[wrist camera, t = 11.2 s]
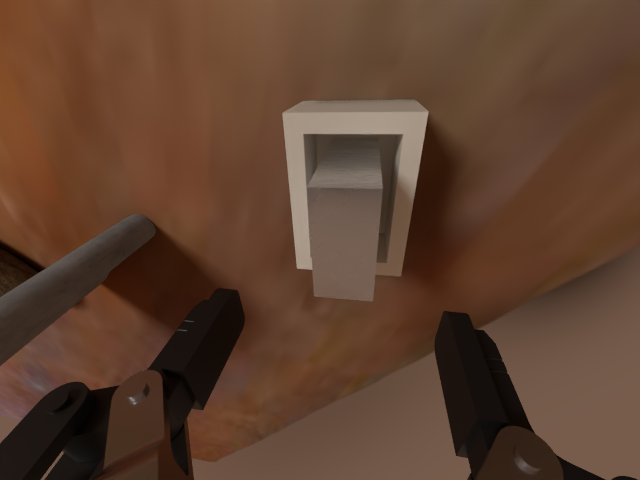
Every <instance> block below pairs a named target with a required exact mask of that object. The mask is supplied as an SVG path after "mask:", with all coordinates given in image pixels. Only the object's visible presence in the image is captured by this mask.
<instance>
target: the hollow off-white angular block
mask: <svg viewBox="0 0 640 480" xmlns="http://www.w3.org/2000/svg"><path fill="white" fill-rule="evenodd" d="M427 118H428V111H427V110H426V109H425V108H424V107H423V106H422V105H421V104H419V103H418V102H417V101H416V100H415V99H411V100H339V101H302V102H301V103H299V104H297V105H295V106H294V107H292V108H290V109H288V110H287V111H285V112H283V124H284V134H285V145H286V156H287V166H288V177H289V188H290V198H291V209H292V220H293V230H294V241H295V251H296V262H297V268H298V269H311V270H312V256H311V242H310V227H309V212H308V198H307V186H308V184H309V182H310V180H311V178H312V176H313V175H314V173H315V171H316V169H317V167H318V165H319V163H320V161H321V159H322V157H323V155H324V153H325V152H326V150H327V148H328V146H329V144H330V142H331V140H332V138H379V148H380V161H381V173H382V185H383V193H382V204H381V215H380V226H379V238H378V249H377V260H376V271H375V275H387V276H400V277H401V273H402V267H403V261H404V255H405V249H406V243H407V237H408V231H409V225H410V219H411V213H412V207H413V202H414V196H415V190H416V184H417V178H418V172H419V166H420V160H421V154H422V148H423V142H424V136H425V130H426V124H427Z"/></svg>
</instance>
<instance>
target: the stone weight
mask: <svg viewBox="0 0 640 480" xmlns="http://www.w3.org/2000/svg"><path fill="white" fill-rule="evenodd" d="M36 274H38V272H37V271H36V270H34V269H33V268H32V267H30V266H29V265H27V264H26V263H24V262H23V261H21V260H20V259H18V258H17V257H15V256H13V255H12V254H10V253H9V252H7V251H5V250H3V249H1V248H0V297H2V296H3V295H5V294H6V293H8V292H9V291H11V290H13V289H14V288H16V287H17V286H19V285H20V284H22V283H24V282H25V281H27V280H28V279H30V278H32V277H33V276H35V275H36Z"/></svg>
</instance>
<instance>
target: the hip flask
mask: <svg viewBox="0 0 640 480" xmlns="http://www.w3.org/2000/svg"><path fill="white" fill-rule="evenodd" d="M155 234H156V229H155V226H154V224H153V223H152V222H151V221H150V220H149V219H148V218H147V217H145V216H143V215H140V214H133V215H131V216H129V217H127V218H125V219H123V220H122V221H120V222H118V223H117V224H115V225H114V226H112V227H111V228H109V229H107V230H106V231H104V232H103V233H101V234H99V235H98V236H96V237H95V238H93V239H92V240H90V241H88V242H87V243H85V244H84V245H82V246H81V247H79V248H77V249H76V250H74V251H73V252H71V253H69V254H68V255H66V256H65V257H63V258H62V259H60V260H58V261H57V262H55V263H54V264H52V265H51V266H49V267H47V268H46V269H44V270H43V271H41V272H39V273H38V274H36V275H35V276H33V277H32V278H30V279H28V280H27V281H25V282H24V283H22V284H20V285H19V286H17V287H16V288H14V289H13V290H11V291H9V292H8V293H6V294H5V295H3V296H2V297H0V366H1V365H2V364H3V363H4V362H6V361H7V360H8V359H9V358H10V357H12V356H13V355H14V354H15V353H17V352H18V351H19V350H20V349H22V348H23V347H24V346H25V345H26V344H28V343H29V342H30V341H31V340H33V339H34V338H35V337H36V336H37V335H39V334H40V333H41V332H42V331H44V330H45V329H46V328H47V327H48V326H50V325H51V324H52V323H53V322H55V321H56V320H57V319H58V318H59V317H61V316H62V315H63V314H64V313H66V312H67V311H68V310H69V309H70V308H72V307H73V306H74V305H75V304H77V303H78V302H79V301H80V300H81V299H83V298H84V297H85V296H86V295H88V294H89V293H90V292H91V291H92V290H94V289H95V288H96V287H97V286H99V285H100V284H101V283H102V282H103V281H105V280H106V279H107V277H108V275H109V273H110V271H111V270H113V269H114V268H115V267H116V266H118V265H119V264H120V263H121V262H123V261H124V260H125V259H126V258H128V257H129V256H130V255H131V254H133V253H134V252H135V251H136V250H138V249H139V248H140V247H141V246H143V245H144V244H145V243H146V242H148V241H149V240H150V239H151V238H153V237H154V236H155Z"/></svg>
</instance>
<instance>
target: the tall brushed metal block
mask: <svg viewBox="0 0 640 480" xmlns="http://www.w3.org/2000/svg"><path fill="white" fill-rule="evenodd" d="M382 193H383V185H382V173H381V161H380V148H379V138H332V140H331V142H330V144H329V146H328V148H327V150H326V152H325V153H324V155H323V157H322V159H321V161H320V163H319V165H318V167H317V169H316V171H315V173H314V175H313V176H312V178H311V180H310V182H309V184H308V186H307V198H308V212H309V227H310V242H311V256H312V271H313V286H314V296H316V297H328V298H339V299H351V300H363V301H373V294H374V282H375V271H376V260H377V249H378V238H379V226H380V215H381V204H382Z"/></svg>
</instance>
